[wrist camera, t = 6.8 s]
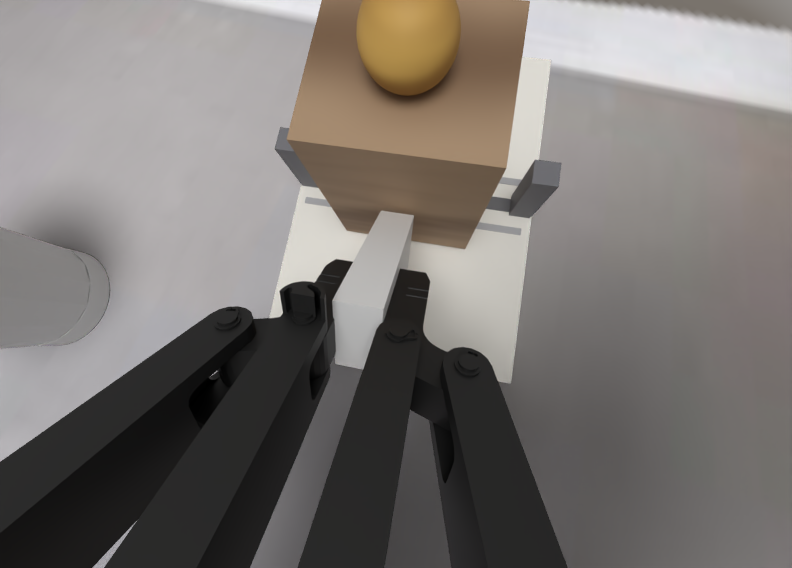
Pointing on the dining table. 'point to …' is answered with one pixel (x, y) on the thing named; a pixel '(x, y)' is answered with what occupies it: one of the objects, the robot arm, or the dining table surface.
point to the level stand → (448, 266)
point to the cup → (47, 292)
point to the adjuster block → (410, 110)
